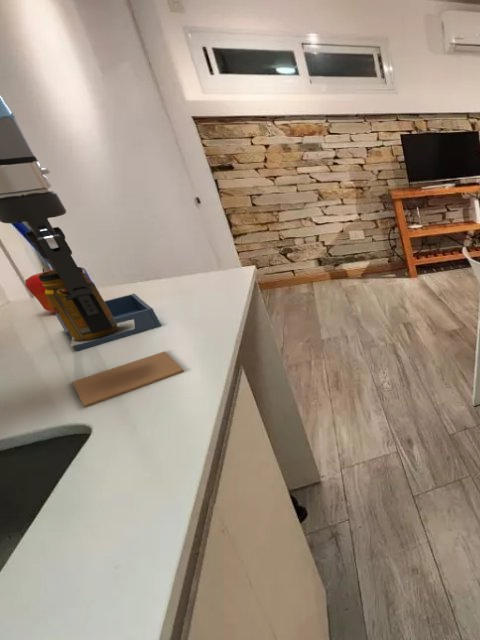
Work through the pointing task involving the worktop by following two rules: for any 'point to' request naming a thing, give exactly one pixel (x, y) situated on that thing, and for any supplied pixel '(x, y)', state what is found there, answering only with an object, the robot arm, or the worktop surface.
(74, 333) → the condiment
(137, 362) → the mat
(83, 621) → the worktop surface
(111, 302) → the bin
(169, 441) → the worktop surface
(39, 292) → the apple
